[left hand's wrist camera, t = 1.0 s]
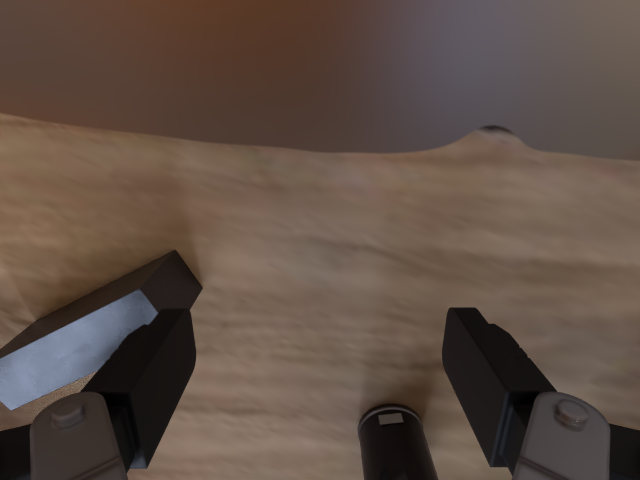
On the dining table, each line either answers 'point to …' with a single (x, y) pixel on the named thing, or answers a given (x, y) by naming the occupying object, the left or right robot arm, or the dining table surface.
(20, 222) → the dining table surface
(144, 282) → the box
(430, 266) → the dining table surface
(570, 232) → the dining table surface
